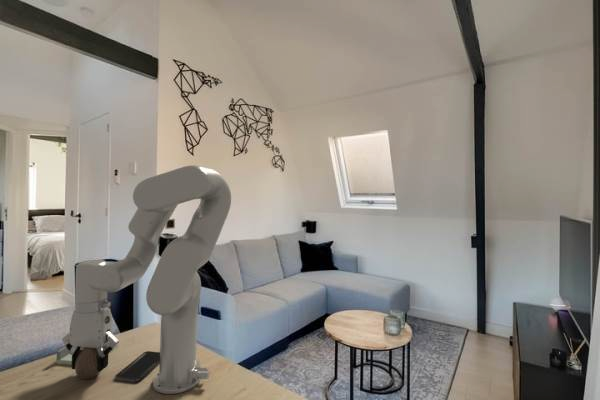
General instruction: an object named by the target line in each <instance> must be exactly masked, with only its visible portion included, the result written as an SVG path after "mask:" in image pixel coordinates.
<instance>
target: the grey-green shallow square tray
mask: <svg viewBox="0 0 600 400" xmlns="http://www.w3.org/2000/svg"><path fill="white" fill-rule="evenodd" d="M107 343H108V345H109V346H110V344H111V343H110V342H107ZM118 347H119V343H118V344H117V345H116V346H115V348H114V349H113V350H112V351H111V352H110V353H112V352H114V350H116V349H117V348H118ZM83 349H84V347H81V349H80V350H83ZM103 350H105V349H104V347H103ZM69 352H70V351H69V350H68V349H67V347H66V345H65V346H63V347H62V348H60V349H59V350H57V351H56V364H57V365H68V366H72V355H70V354H69ZM110 353H108V355H109V354H110Z"/></svg>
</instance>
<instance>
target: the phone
mask: <svg viewBox="0 0 600 400" xmlns="http://www.w3.org/2000/svg"><path fill="white" fill-rule="evenodd" d="M159 364H160V351H150V350H148V351H147V350H146V351H144V352H142V353H141V354H140V355H139V356H137V358H135V359H134V360H133V361H131V362H130V363H129V364H128V365H127V366H125V367H124V368H122V369H121V370H120V371H119V372H118V373H117V374H115V375H114V381H116V382H124V383H133V384H139V383H141V382H143V380H144V379H146V378H147V377H148V376H149V375H150V374H151V372H153V371H154V370H155V369H156V368H158V367H159Z"/></svg>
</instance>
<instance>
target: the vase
mask: <svg viewBox="0 0 600 400" xmlns="http://www.w3.org/2000/svg"><path fill="white" fill-rule="evenodd" d="M99 357H100V354H99V352H98V350H97V348H90V347H84V349H83V350H82V351H81V353H80V354H79V355H78V357H77V359H76V362H75V369H74V371H75V374H76V376H77V377H79V378H80V379H82V380H90V379H94V378H95V377H97V376H98V375H99V374H100V373H101V372H99V371H98V358H99Z"/></svg>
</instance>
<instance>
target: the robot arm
mask: <svg viewBox="0 0 600 400" xmlns="http://www.w3.org/2000/svg"><path fill="white" fill-rule="evenodd" d="M199 199H200V201H199V202H200V203H199V205H198V206H197V208H196V210H195V211H194V213H193V215H192V217H191V220H190V223H189V225H188V227H187V229H186V231H185V232H184V234H182V235H181V236H178V237H176V238H174V239H173V240H172V241H170V242H169V243H168V245H166V247H165V248H164V250H163V251H162V253H161V255H160V257H159V260H158V262H157V264H156V266H155V270H154V272H153V275H152V276H151V279H150V280H149V283H148V286H147V289H146V295H145V296H146V299H145V300H146V303H147V306H148V308H149V309H150V310H151V312H153V313H154V314H156V315H159V316H161V317H160V334H159V335H160V336H159V338H160V339H159V341H160V343H159V352H160V364H159V365H158V367H159V369H158V372H157V373H156V374H155V375H154V377H153V379H152V388H153V389H154V390H155V391H156V392H158V393H161V394H165V395H173V394H174V395H175V394H180V393H184V392H186V391H189V390H191V389H192V388H195V387H196V386H197V385H198V384H199V383H200V381H201V380H209V379H210V375H211V373H210V371H209V367H208V366H201V365H200V360H198V359H197V346H198V345H197V344H198V342H197V341H198V340H197V337H198V321H199V320H198V314H199V305H200V304H199V302H200V298H201V291H202V281H201V276H200V275H199V273H198V270H199V269H200V268H202V267H203V266H205V264H206V263H208V262H209V260H210V259H211V257H212V255H213V251H214V249H215V246H216V244H217V243H218V240H219V237H220V235H221V232H222V230H223V227H224V225H225V222H226V220H227V218H228V215H229V212H230V209H231V204H232V193H231V187H230V186H229V184H228V182H227V181H226V178H224V177H223V176H222V175H221V174H220V173H219V172H218V171H216V170H215V169H212V168H210V167H204V166H200V165H186V166H182V167H179V168H176V169H173V170H169V171H167V172H162V173H160V174H157V175H154V176H151V177H147V178H145V179H143V180H141V181H139V182H138V184H137V185H136V186H135V188H134V190H133V193H132V200H133V203H134V206H135V207H137V209H136V211H135V213H134V214H133V216H132V218H131V220H130V222H129V223H128V227H127V228H128V231H129V232H130V233H131V234H132V235H133V236H134V239H133V240H134V241H133V243H132V246H131V248H130V249H129V251H128V252H127V254H126V255H125V257H124V258H123V259H121V260H120V259H119V260H118V261H115V262H112V263H108V262H107V261H106V260H104V259H103V260H102V259H88V260H83V261H80V262H79V263H77V265H76V267H75V291H74V292H75V296H74V297H75V298H74V299H75V300H74V303H75V304H74V310H73V312H72V315H71V320H70V325H69V332H68V333H67V334H65V336H64V337H62V338H61V341H62V342H63V344H64V345H65V346H66V347H67V349H68V350H69V351H70V352H69V354H70V355H72V365H71V370H75V362H76V359H77V357H78V355H79V354H80V353H81V351H82V350H80V349H81V347H90V348H97V350H98V352H99V354H100V357H99V358H98V371H99V372H100V373H101V372H102V371H103V370H104V369H106V368H107V367H108V364H109V354H110V353H112V352H113V351H114V350H115V349H114V348H115V346H116V345H117V344H118V345H119V343H120V340H119V339H118V338H117V337H115V335H114V325H113V317H112V316H113V315H112V312H111V311H112V310H111V308H110V307H111V304H112V303H111V301H108V293H115V292H118V291H120V290H122V289H125V288H126V287H128V286H130V285H132V284H134V283H135V282H138V281H139V280H140V279H142V277H144V275H145V274H146V273H147V271H148V270H149V267H150V266H151V264H152V262H153V260H154V258H155V256H156V254H157V251H158V246H159V239H160V236H161V235H162V233H163V232H164V229H165V227H166V226H167V224H168V222H169V220H171V219H170V218H171V217H172V216H173V214H174V211H175V210H176V208H177V207H178V205H180V204H183V203H186V202H190V201H193V200H199ZM107 342H110V343H111V344H110V346H109V345H108V343H107ZM103 347H104V349H105V350H103ZM113 349H114V350H113ZM112 350H113V351H112ZM111 351H112V352H111ZM108 353H109V354H108Z"/></svg>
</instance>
